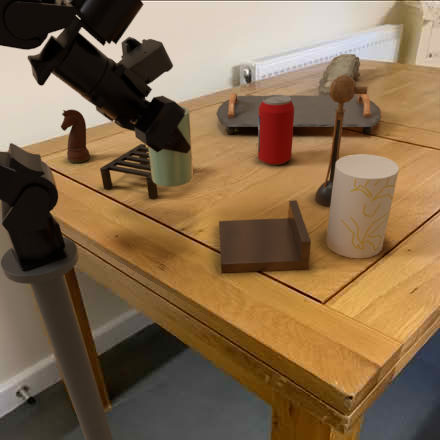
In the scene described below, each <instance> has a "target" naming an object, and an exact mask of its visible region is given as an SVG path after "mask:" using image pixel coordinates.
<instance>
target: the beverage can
mask: <svg viewBox="0 0 440 440" xmlns="http://www.w3.org/2000/svg"><path fill="white" fill-rule="evenodd" d="M264 96H265V97H264V98H263V101H262V103H261V104H260V106H259V121H258V127H257V131H258V132H257V134H258V135H257V158H258V159H259V160H260V161H261V162H262V163H264V164H266V165H271V166H279V165H282V164H285V163H286V162H288V161H290V160H291V159H292V151H293V137H294V127H293V123H294V106H293V103H292V101H291V98H290V97H289V96H290V95H287V94H286V95H285V94H270V95H264Z"/></svg>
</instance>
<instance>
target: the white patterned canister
mask: <svg viewBox="0 0 440 440" xmlns="http://www.w3.org/2000/svg"><path fill="white" fill-rule="evenodd" d="M399 172H400V167H399V165H398V164H397V162H395V161H394V160H393V159H390V158H387V157H385V156H381V155H377V154H369V153H368V154H367V153H357V154H350V155H345V156H342V157H339V160H337V162H336V164H335V172H334V180H333V188H332V196H331V204H330V207H329V212H328V222H327V228H326V229H327V230H326V238H325V245H326V246H327V248H328V250H330V251H332V252H333V253H335V254H337V255H339V256H342V257H345V258H351V259H366V258H367V259H368V258H372V257H374V256H376V255H378V254H379V253H380V252H382V249H383V247H384V242H385V237H386V232H387V227H388V223H389V217H390V213H391V208H392V203H393V199H394V195H395V191H396V190H395V189H396V184H397V180H398V175H399Z"/></svg>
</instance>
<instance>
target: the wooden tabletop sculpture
mask: <svg viewBox="0 0 440 440" xmlns="http://www.w3.org/2000/svg"><path fill="white" fill-rule="evenodd" d="M329 92H330V96H331V98H332V99H333V101H335V102H338V109H335V111H336V117H335V126H334V127H333V134H332V136H333V137H332V142H331V150H330V155H329V163H328V168H327V173H326V177H325V180H324V182H323V183H322V184H320V186H319V187H318V188H317V189H316V192H315V195H314V201H315V202H316V204H317V205H320V206H323V207H328V208H330V204H331V196H332V188H333V180H334V172H335V164H336V162H337V160H339V159H340V151H341V142H342V132H343V127H342V125H343V118H344V112H345V111H346V110H345V109H343V107H344V103H346V102H349V101H350V100H351V99H352V98H353V97H354V95H360V94H367V93H368V86H363V85H362V86H359V85H357V83H356V80H355V79H352V78H351V77H350V76H346V75H343V76H339V77H337V78H336V79H334V80H333V82H332V83H331V85H330V90H329Z"/></svg>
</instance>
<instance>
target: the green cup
mask: <svg viewBox="0 0 440 440" xmlns="http://www.w3.org/2000/svg"><path fill="white" fill-rule="evenodd" d="M179 106H180V107H181V108H183V109H184V110H185V116H184V117H183V119H182V120H181V122H180V123H179V125H178V128H179V130H180V131H181V133H182V134H183V136H184V137H185V139H186V140H187V142H188V143H189V145H190V146H191V149H190V150H189V152H188V153H181V152H176V151H171V150H164V149H162V150H161V151H159V152H156V151H154V150H153V149H151V148H150V147H148V146H147V147H148V151H149V152H148V153H149V158H148V159H150V164H149V165H150V167H151V171H150V172H151V176H152V181H153V182H154V183H155V184H156V185H157V186H161V187H179V186H184V185H187V184H189V183H190V182H191V181H193V179H194V165H193V164H194V163H193V150H192V135H191V133H192V132H191V119H190V110H189V108H188V107H186V106H183V105H179Z"/></svg>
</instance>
